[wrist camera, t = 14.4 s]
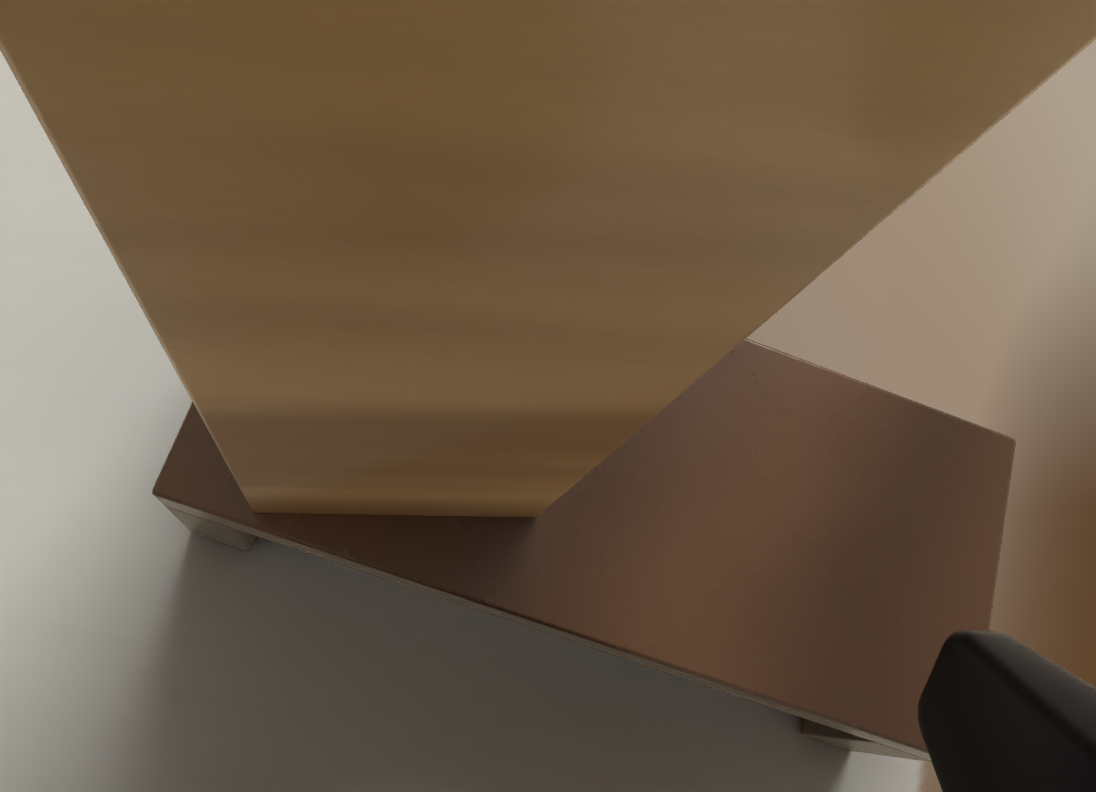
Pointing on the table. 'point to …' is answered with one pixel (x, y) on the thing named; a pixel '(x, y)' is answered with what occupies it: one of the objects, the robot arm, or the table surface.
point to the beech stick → (492, 206)
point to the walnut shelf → (713, 543)
